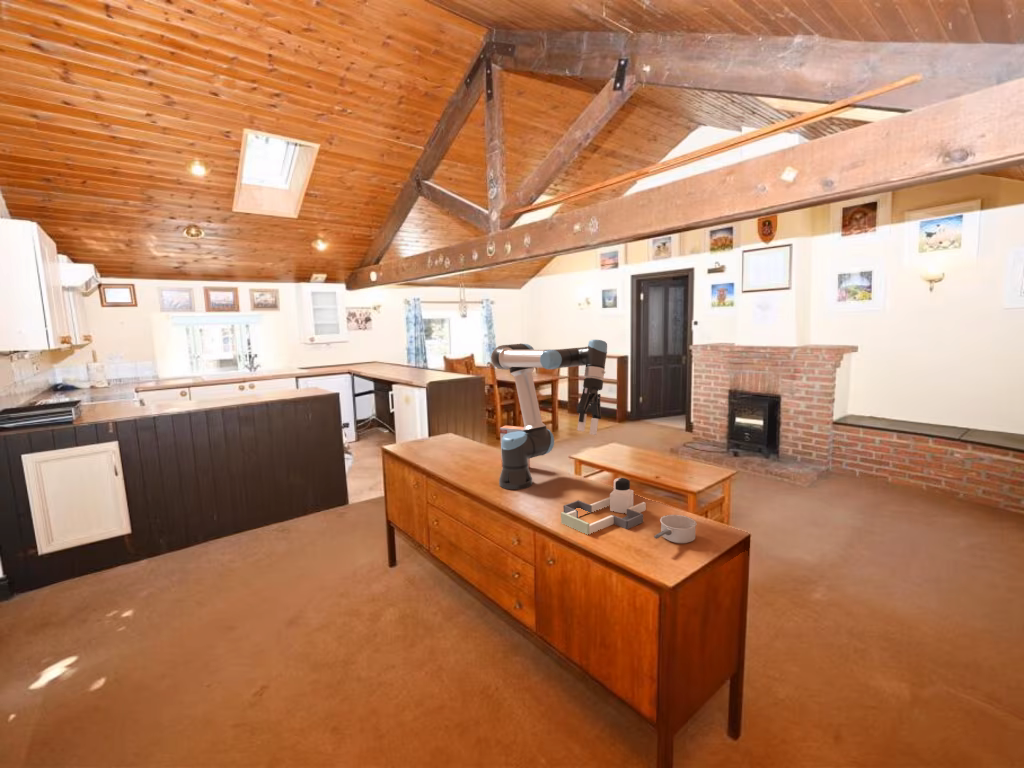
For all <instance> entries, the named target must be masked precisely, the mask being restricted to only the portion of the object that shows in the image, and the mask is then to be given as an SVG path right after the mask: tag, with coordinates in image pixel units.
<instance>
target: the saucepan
mask: <svg viewBox="0 0 1024 768" xmlns="http://www.w3.org/2000/svg"><path fill="white" fill-rule="evenodd" d="M659 522H660V532H658V533H657V534H654V536H653V537H654V539H659V538H661V537H662V538H664V539H665V540H667V541H669V542H672V543H675V544H687V543H690V542H691V543H692V542H693V541H695V539H696V527H697V524H698V523H697V521H696V520H695V519H693V518H691V517H688V516H686V515H681V514H667V515H663V516H661V517H660V519H659Z"/></svg>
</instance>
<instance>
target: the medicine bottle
mask: <svg viewBox="0 0 1024 768" xmlns="http://www.w3.org/2000/svg"><path fill="white" fill-rule="evenodd" d="M630 482H631V481H630V479H627V478H624V477H617V478H615V479H613V490H612V491H611V492H610V493H609V497H610V506H609V510H610V512H613V511H614V512H615V513H620V514H624V513H625V514H626V515H627V509H628V508H630V507H632V506H634V490H633V489H631V483H630ZM625 514H624V515H625Z"/></svg>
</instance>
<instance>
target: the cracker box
mask: <svg viewBox="0 0 1024 768" xmlns="http://www.w3.org/2000/svg"><path fill="white" fill-rule="evenodd" d="M523 428H524V426H513V425H504V426H500V427H499V430H500V431H499V433H500V434H499V435H500V445H501V444H502V437H503V436H504V435H505V434H507V433H510V432H516V431H522V429H523ZM500 455H501V456H500V457H501V459H500V460H501V463H502V448H501V447H500ZM530 459H531V458H529V459H528V469H529V468H530V466H531V461H530Z"/></svg>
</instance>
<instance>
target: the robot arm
mask: <svg viewBox="0 0 1024 768" xmlns="http://www.w3.org/2000/svg"><path fill="white" fill-rule="evenodd" d="M607 354H608V343H607V342H606V341H604V340H601V339H590V340H589V341H588V344H587V346H583V347H571V348H561V349H535V348H534V347H533V346H531V345H530V344H528V343H514V344H513V343H512V344H502V345H498V346H497V347H495V348H494V349H493V350H492V353H491V363H492V365H493V366H494V367H495V368H497V369H499V370H502V371H503V370H505V371H507V370H509V373H510V375H511V376H512V377H514V383H515V387H516V392H517V397H518V402H519V405H520V406H519V407H520V411H521V416H522V421H523V427H524V428H523V429H522V431H516V432H510V433H507V434H505V435H504V436H503V437H502V444H501V443H500V449H501V448H502V462H501V468H502V469H501V472H500V476H499V479H498V480H499V481H498V482H499V483H498V484H499V487H501V488H503V489H505V490H506V489H507V490H523V489H527V488H529V487H531V486H532V485H533V477H532V475H531V474H532V473H531V472H530V469H529V468H528V459H529V458H530V459H532V458H537V457H540V456H542V457H543V456H545V455H547V454H549V453H551V451H552V450H553V448H554V446H555V438H554V437H555V435H554V434H553V432H552V431H551V430H550V429H548V428H547V425H546V424H545V423H543V421H542V416H541V412H540V411H541V410H540V407H539V401H538V398H537V396H538V395H537V392H536V386H535V382H534V378H533V372H534V371H535V369H537V368H539V369H545V370H556V369H564V368H571V367H583V366H585V368H584V376H583V377H584V379H583V384H582V386H583V388H582V394H581V396H580V400H579V401H578V406H577V409H576V413H577V414H578V419H577V420H578V421H577V422H578V423H577V430H576V431H578V432H585V429H586V425H587V423H586V421H587V411H588V409H589V408H591V415H592V416H591V417H592V418H591V420H590V426H589V427H590V428H589V435H593V436H597V435H598V426H599V420H601V419H602V413H601V412H602V411H601V393H598V392H599V391H602V390H603V387H604V377H605V374H606V371H605V368H606V360H607V356H608V355H607Z"/></svg>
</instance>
